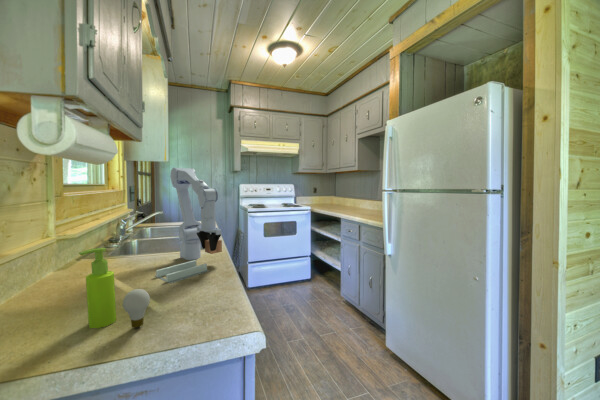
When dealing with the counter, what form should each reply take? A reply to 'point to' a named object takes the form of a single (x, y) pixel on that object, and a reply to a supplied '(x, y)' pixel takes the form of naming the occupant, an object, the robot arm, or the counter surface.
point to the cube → (218, 248)
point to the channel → (181, 271)
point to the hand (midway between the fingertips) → (209, 249)
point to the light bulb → (136, 306)
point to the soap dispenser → (100, 291)
